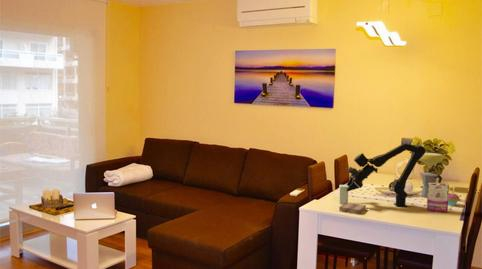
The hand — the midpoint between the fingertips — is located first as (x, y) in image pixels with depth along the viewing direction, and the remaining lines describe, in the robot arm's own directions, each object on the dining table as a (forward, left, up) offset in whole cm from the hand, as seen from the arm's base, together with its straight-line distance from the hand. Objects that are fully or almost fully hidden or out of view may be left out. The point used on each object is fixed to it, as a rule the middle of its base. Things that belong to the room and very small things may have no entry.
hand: (346, 189), depth 275 cm
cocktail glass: (-47, +68, -9) cm, 83 cm away
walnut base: (+16, +1, -9) cm, 18 cm away
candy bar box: (+13, +51, -9) cm, 53 cm away
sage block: (0, -1, -9) cm, 9 cm away
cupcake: (-1, +65, -9) cm, 65 cm away
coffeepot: (-20, +59, -9) cm, 63 cm away
